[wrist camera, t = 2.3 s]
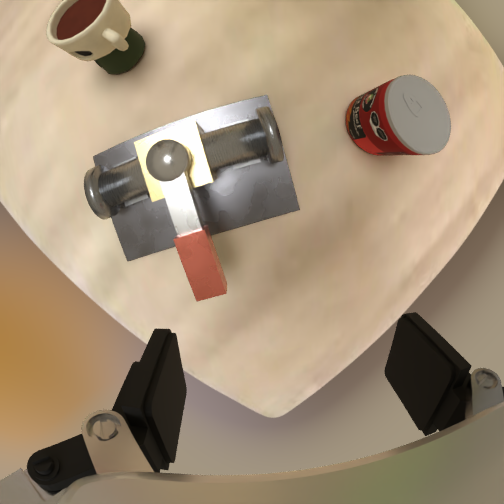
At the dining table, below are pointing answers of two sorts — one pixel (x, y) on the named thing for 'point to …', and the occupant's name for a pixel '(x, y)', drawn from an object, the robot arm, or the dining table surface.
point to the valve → (196, 176)
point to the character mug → (96, 33)
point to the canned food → (400, 118)
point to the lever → (186, 218)
